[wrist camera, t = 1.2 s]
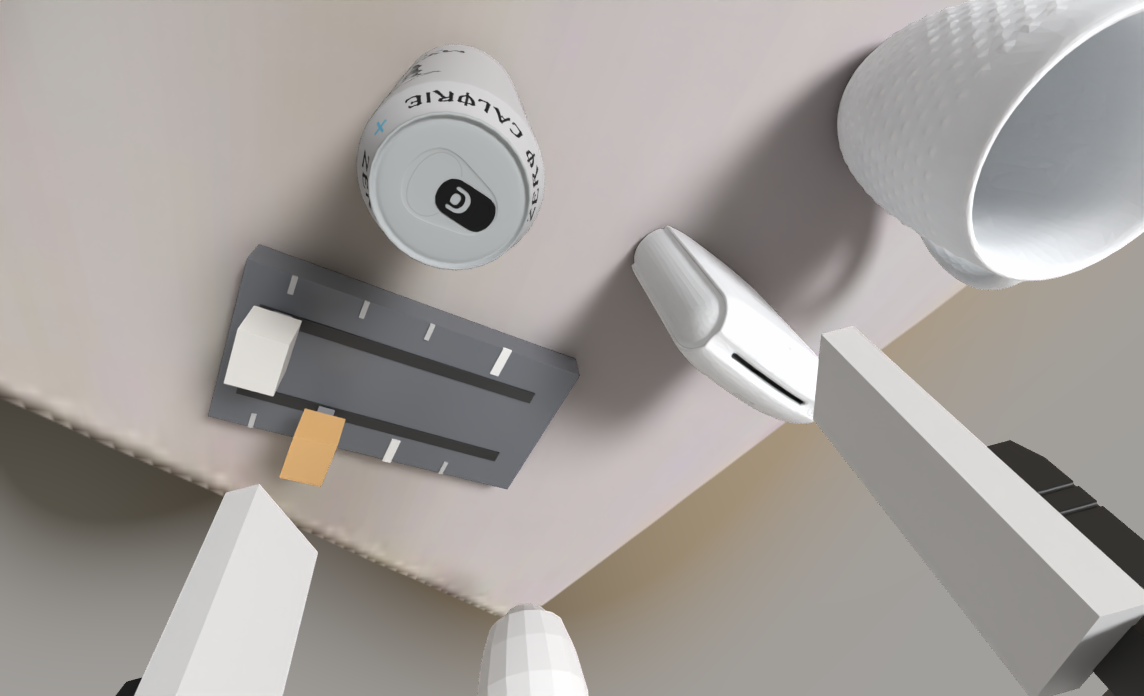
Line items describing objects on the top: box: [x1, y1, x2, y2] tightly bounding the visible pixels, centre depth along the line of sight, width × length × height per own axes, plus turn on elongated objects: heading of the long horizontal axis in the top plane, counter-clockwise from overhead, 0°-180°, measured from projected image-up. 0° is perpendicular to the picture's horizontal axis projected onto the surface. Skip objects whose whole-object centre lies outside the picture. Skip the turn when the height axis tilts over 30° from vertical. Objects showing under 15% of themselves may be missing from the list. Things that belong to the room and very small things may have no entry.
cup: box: [477, 604, 588, 696], centre depth 38 cm, size 7×7×21 cm
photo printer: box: [632, 225, 819, 424], centre depth 32 cm, size 10×4×12 cm, turn 51°
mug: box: [837, 0, 1144, 290], centre depth 28 cm, size 15×11×13 cm
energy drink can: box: [357, 44, 545, 270], centre depth 22 cm, size 6×6×15 cm
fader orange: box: [279, 406, 346, 487], centre depth 33 cm, size 2×4×4 cm, turn 151°
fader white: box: [224, 306, 302, 396], centre depth 29 cm, size 2×4×4 cm, turn 151°
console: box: [208, 245, 580, 489], centre depth 37 cm, size 21×12×2 cm, turn 61°
